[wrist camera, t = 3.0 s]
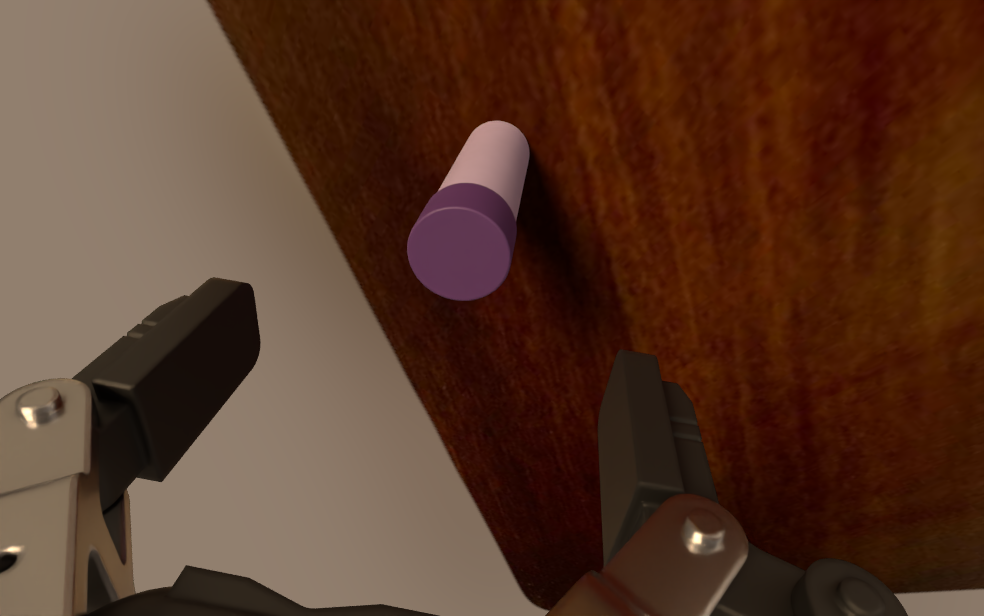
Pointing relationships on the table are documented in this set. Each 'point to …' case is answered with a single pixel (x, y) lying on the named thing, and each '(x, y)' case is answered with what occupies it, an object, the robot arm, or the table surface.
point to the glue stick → (472, 216)
